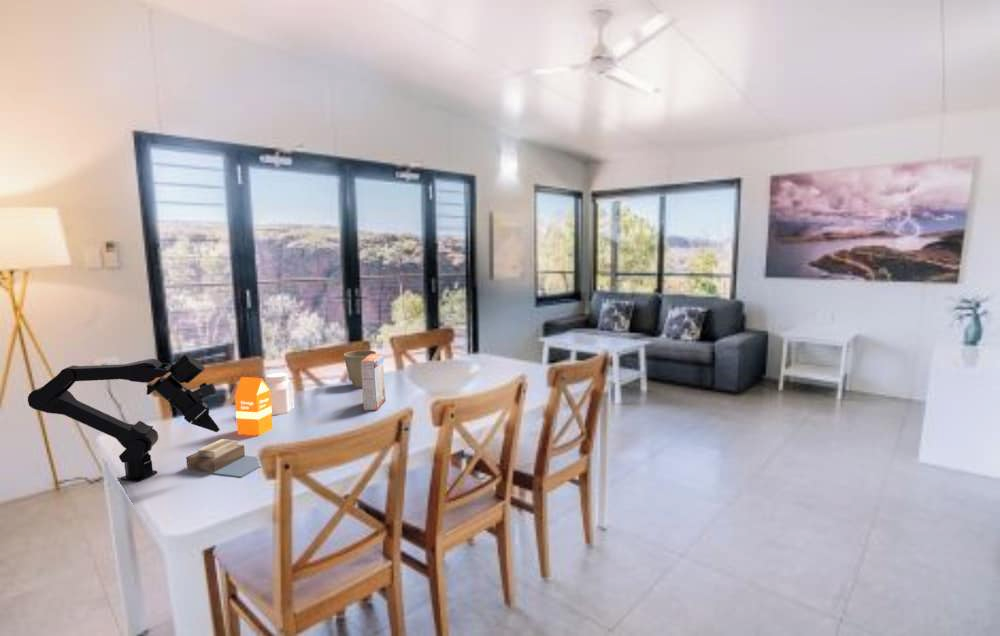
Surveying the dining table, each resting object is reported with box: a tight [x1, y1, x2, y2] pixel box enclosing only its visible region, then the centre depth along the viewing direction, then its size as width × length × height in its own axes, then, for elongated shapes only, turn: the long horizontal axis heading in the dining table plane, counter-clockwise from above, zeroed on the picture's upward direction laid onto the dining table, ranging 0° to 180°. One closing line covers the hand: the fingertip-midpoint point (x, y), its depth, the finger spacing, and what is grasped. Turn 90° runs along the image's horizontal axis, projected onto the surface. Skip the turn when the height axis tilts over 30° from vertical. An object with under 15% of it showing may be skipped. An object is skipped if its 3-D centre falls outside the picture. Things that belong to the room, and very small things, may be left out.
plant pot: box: [343, 349, 377, 389], centre depth 246 cm, size 15×15×16 cm
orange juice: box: [234, 376, 273, 436], centre depth 184 cm, size 8×9×20 cm
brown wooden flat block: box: [185, 444, 246, 474], centre depth 157 cm, size 10×12×4 cm
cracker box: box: [361, 353, 386, 411], centre depth 213 cm, size 14×6×21 cm, turn 178°
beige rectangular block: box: [197, 438, 239, 458], centre depth 156 cm, size 6×9×2 cm, turn 165°
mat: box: [212, 455, 261, 478], centre depth 155 cm, size 10×13×1 cm
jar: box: [265, 372, 295, 416], centre depth 209 cm, size 12×10×15 cm
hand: (217, 429), depth 153 cm, fingers open, 9 cm apart
